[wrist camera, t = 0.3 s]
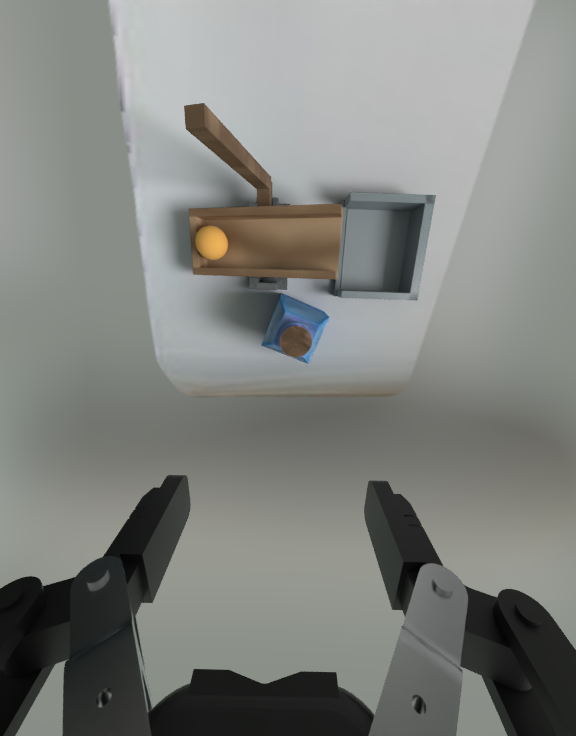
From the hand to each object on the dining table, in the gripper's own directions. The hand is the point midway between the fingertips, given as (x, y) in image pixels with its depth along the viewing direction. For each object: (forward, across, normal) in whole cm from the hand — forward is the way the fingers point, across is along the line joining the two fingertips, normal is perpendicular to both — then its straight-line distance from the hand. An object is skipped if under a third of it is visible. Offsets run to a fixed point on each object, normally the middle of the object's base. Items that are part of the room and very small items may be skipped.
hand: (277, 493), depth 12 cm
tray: (+29, -11, -12) cm, 33 cm away
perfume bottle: (+29, -1, -3) cm, 29 cm away
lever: (+26, +2, -14) cm, 29 cm away
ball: (+25, +9, -12) cm, 29 cm away
